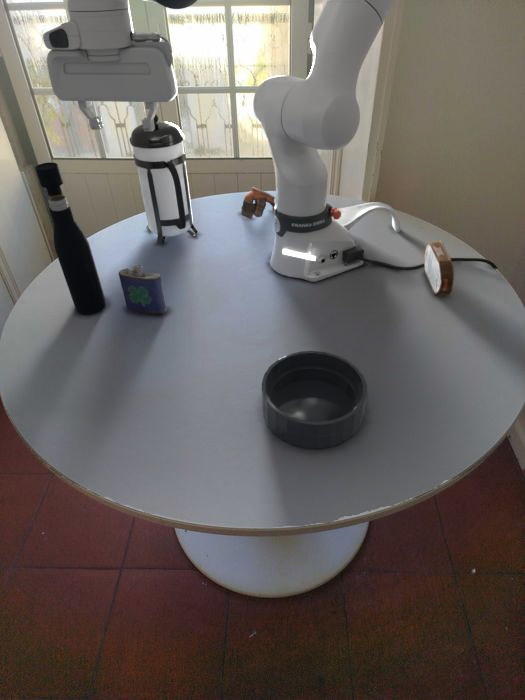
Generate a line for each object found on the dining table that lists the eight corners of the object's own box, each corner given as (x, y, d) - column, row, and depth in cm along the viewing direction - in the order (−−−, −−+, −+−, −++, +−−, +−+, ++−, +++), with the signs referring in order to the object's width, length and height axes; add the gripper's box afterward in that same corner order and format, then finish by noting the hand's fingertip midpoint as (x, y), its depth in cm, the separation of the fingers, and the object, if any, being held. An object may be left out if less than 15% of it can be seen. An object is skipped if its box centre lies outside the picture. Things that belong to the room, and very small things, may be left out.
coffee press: (131, 242, 124) (103, 120, 105) (163, 217, 135) (143, 103, 116) (188, 253, 119) (170, 126, 99) (217, 226, 130) (205, 108, 110)
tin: (449, 303, 99) (459, 268, 93) (434, 303, 99) (443, 268, 94) (432, 266, 110) (440, 233, 105) (419, 266, 110) (426, 233, 105)
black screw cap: (334, 367, 84) (337, 341, 81) (381, 432, 73) (387, 406, 69) (249, 390, 81) (248, 364, 77) (284, 463, 69) (285, 437, 65)
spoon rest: (312, 243, 121) (313, 216, 116) (306, 223, 130) (307, 198, 125) (403, 238, 121) (408, 211, 117) (391, 219, 130) (395, 194, 126)
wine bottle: (98, 316, 99) (53, 173, 79) (70, 313, 100) (19, 171, 80) (111, 299, 103) (72, 160, 84) (85, 296, 104) (40, 159, 85)
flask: (169, 309, 100) (160, 265, 93) (163, 317, 98) (153, 272, 91) (130, 303, 102) (119, 260, 95) (123, 311, 100) (111, 267, 93)
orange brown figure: (236, 211, 138) (246, 183, 136) (265, 222, 142) (275, 196, 139) (242, 217, 128) (253, 187, 125) (273, 229, 131) (285, 201, 128)
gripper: (175, 29, 72) (186, 125, 81) (52, 30, 75) (76, 123, 84) (162, 35, 68) (176, 136, 76) (32, 35, 70) (59, 133, 79)
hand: (123, 129), depth 80 cm, fingers open, 8 cm apart
